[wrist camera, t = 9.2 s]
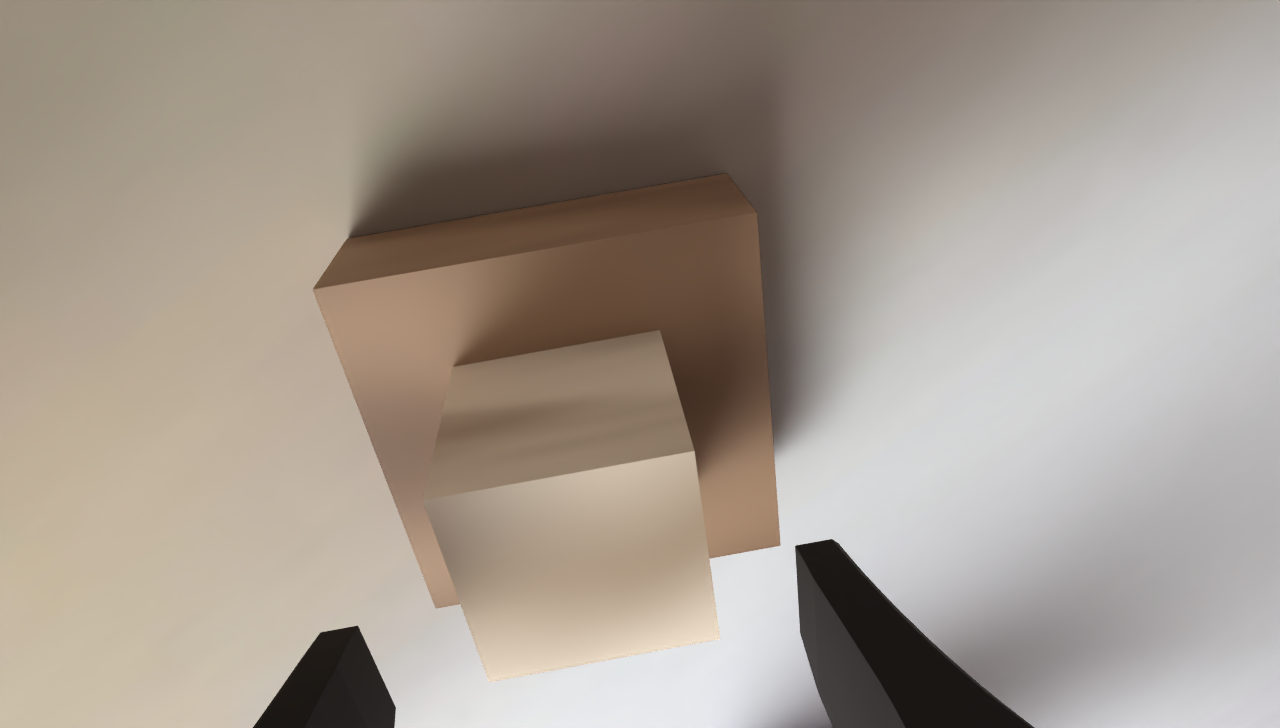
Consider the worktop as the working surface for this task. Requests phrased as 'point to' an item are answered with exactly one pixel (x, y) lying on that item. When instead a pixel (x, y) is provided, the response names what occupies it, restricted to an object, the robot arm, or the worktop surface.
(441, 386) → the walnut base
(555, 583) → the birch block
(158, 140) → the worktop surface
